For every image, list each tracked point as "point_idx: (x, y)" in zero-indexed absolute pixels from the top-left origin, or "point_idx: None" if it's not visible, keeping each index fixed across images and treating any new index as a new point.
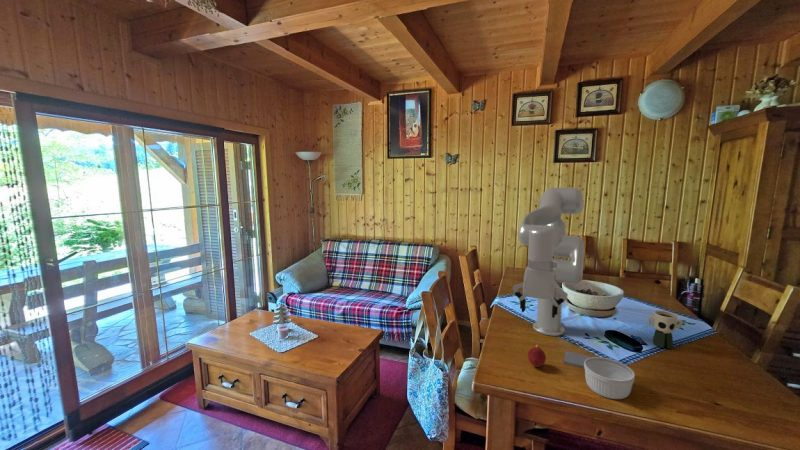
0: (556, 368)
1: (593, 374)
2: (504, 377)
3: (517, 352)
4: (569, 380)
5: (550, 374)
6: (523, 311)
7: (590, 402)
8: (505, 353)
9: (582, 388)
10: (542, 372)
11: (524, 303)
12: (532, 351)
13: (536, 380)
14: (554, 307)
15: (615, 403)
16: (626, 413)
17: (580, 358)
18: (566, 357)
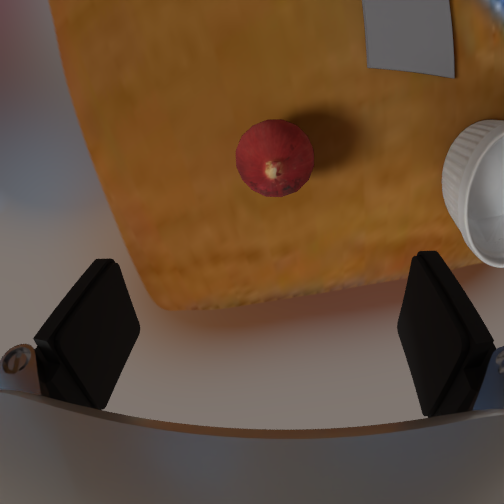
0: (347, 120)
1: (474, 253)
2: (202, 266)
3: (178, 80)
4: (393, 181)
5: (332, 174)
6: (136, 334)
7: None
8: (142, 118)
9: (426, 207)
10: None
11: (102, 375)
12: (257, 187)
13: (294, 234)
14: (441, 414)
15: None
16: None
17: (422, 21)
18: (375, 32)
